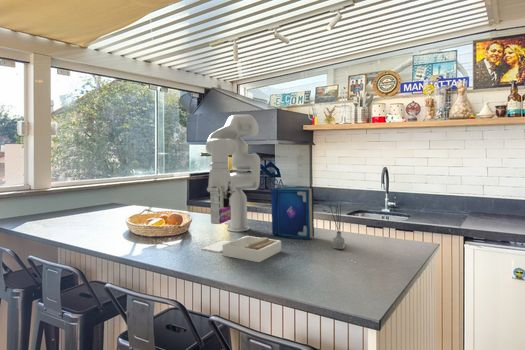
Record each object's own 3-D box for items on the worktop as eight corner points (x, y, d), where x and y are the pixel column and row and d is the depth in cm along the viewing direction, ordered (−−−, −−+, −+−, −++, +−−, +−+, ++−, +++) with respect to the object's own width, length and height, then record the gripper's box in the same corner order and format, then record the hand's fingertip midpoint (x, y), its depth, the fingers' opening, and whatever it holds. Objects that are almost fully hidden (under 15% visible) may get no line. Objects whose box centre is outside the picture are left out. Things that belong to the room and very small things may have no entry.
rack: (222, 255, 149) (222, 244, 149) (246, 245, 165) (246, 235, 164) (259, 262, 140) (259, 250, 140) (281, 250, 155) (281, 240, 155)
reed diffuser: (342, 252, 153) (342, 205, 151) (326, 250, 156) (326, 204, 154) (347, 246, 162) (347, 202, 160) (332, 244, 165) (332, 201, 163)
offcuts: (248, 257, 146) (248, 243, 146) (263, 250, 156) (263, 237, 156) (258, 259, 144) (258, 245, 143) (273, 252, 154) (273, 238, 153)
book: (269, 235, 182) (269, 187, 181) (275, 233, 189) (275, 185, 187) (309, 240, 172) (309, 189, 170) (314, 237, 178) (314, 187, 177)
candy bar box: (221, 219, 167) (221, 184, 166) (231, 219, 166) (230, 184, 165) (209, 223, 157) (209, 186, 156) (220, 224, 155) (219, 186, 154)
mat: (201, 249, 158) (201, 248, 158) (223, 241, 172) (223, 240, 172) (219, 252, 153) (219, 251, 153) (240, 244, 166) (240, 243, 166)
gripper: (199, 166, 161) (200, 206, 162) (230, 167, 152) (231, 209, 153) (210, 165, 167) (211, 204, 169) (240, 166, 158) (241, 206, 160)
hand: (220, 206), depth 161 cm, fingers closed on candy bar box, 5 cm apart
